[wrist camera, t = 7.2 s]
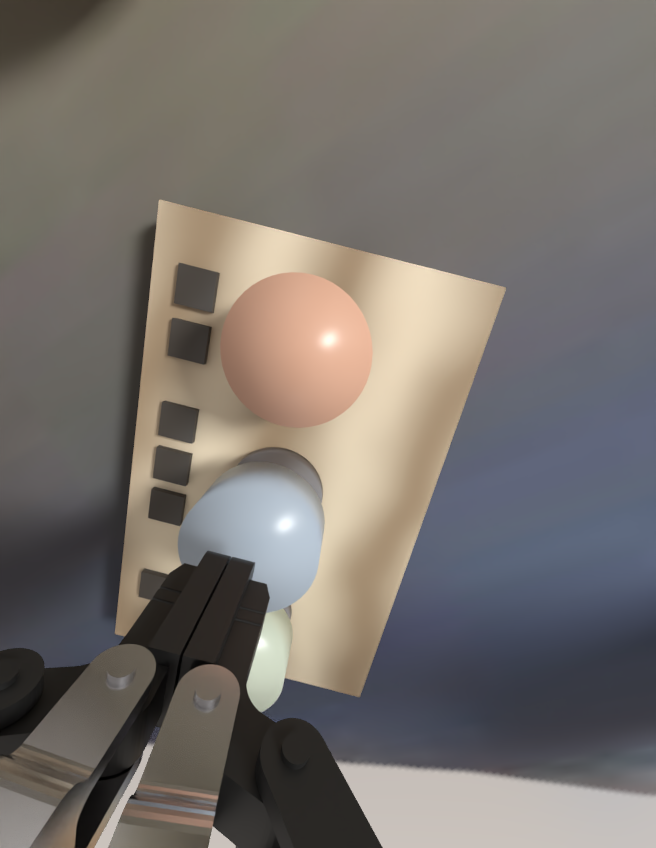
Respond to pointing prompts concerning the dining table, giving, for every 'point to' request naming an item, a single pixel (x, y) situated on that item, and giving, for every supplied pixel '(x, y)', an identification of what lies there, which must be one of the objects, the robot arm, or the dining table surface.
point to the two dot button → (296, 350)
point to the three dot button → (260, 527)
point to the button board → (300, 447)
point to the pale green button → (270, 660)
